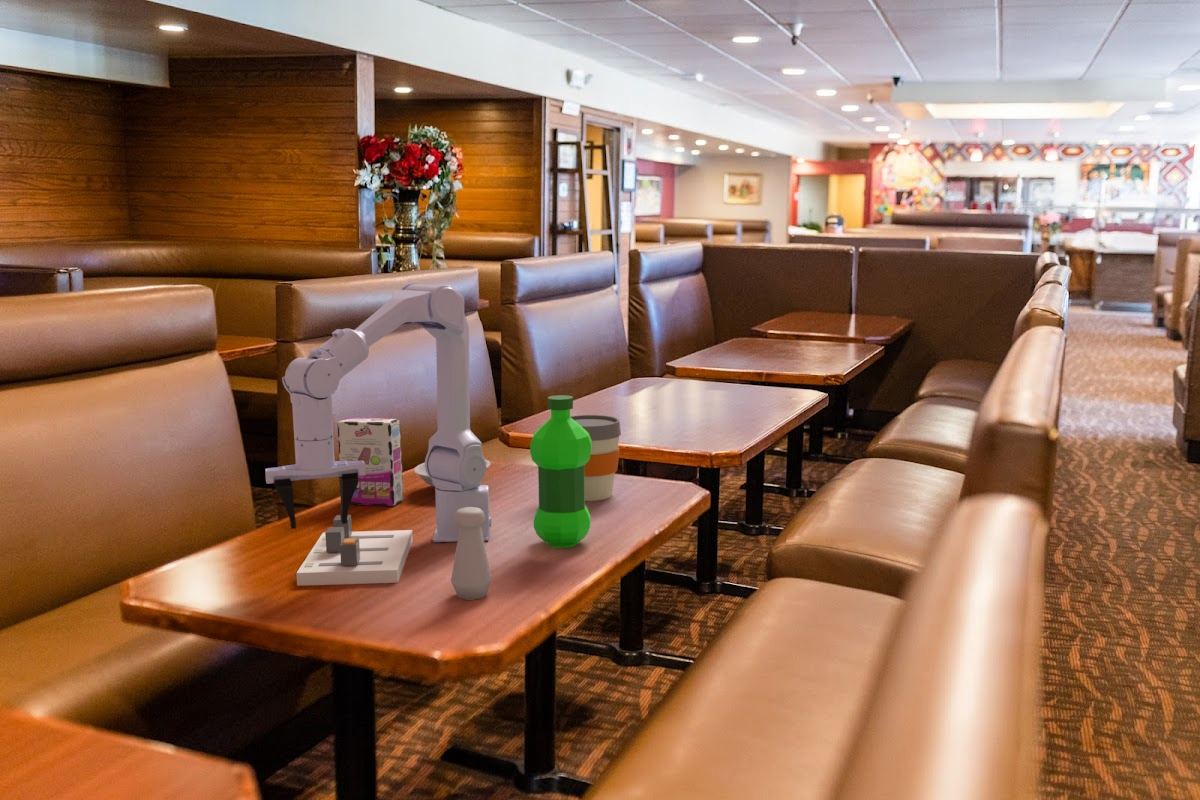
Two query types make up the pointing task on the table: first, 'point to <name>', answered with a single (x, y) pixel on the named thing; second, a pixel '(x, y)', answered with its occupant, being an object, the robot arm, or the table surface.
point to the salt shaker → (470, 556)
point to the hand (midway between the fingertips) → (318, 524)
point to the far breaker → (344, 525)
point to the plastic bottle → (561, 476)
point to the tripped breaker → (350, 551)
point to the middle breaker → (334, 538)
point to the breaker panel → (376, 563)
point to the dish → (422, 473)
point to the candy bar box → (374, 458)
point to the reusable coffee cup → (600, 454)
